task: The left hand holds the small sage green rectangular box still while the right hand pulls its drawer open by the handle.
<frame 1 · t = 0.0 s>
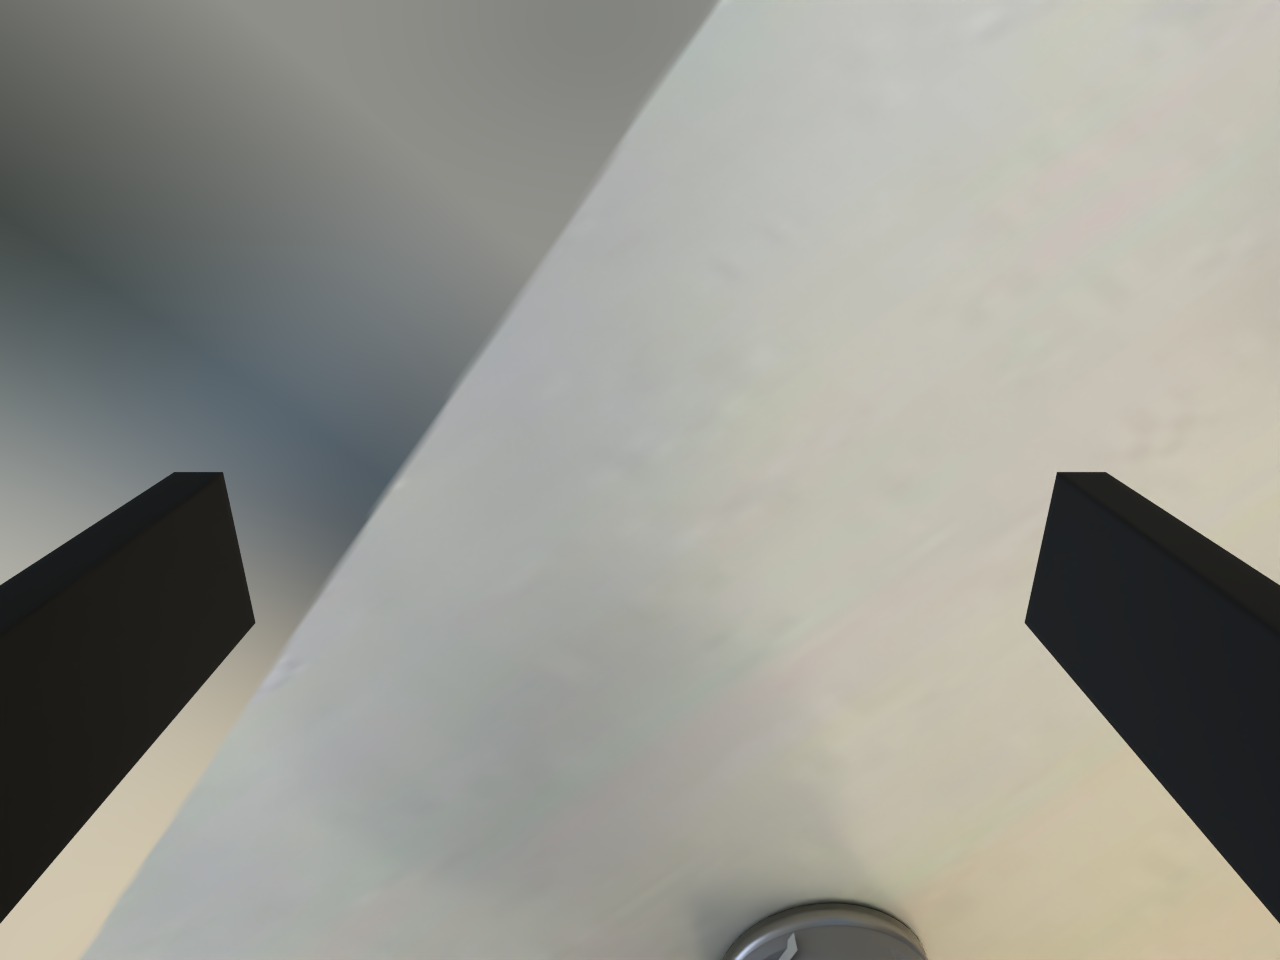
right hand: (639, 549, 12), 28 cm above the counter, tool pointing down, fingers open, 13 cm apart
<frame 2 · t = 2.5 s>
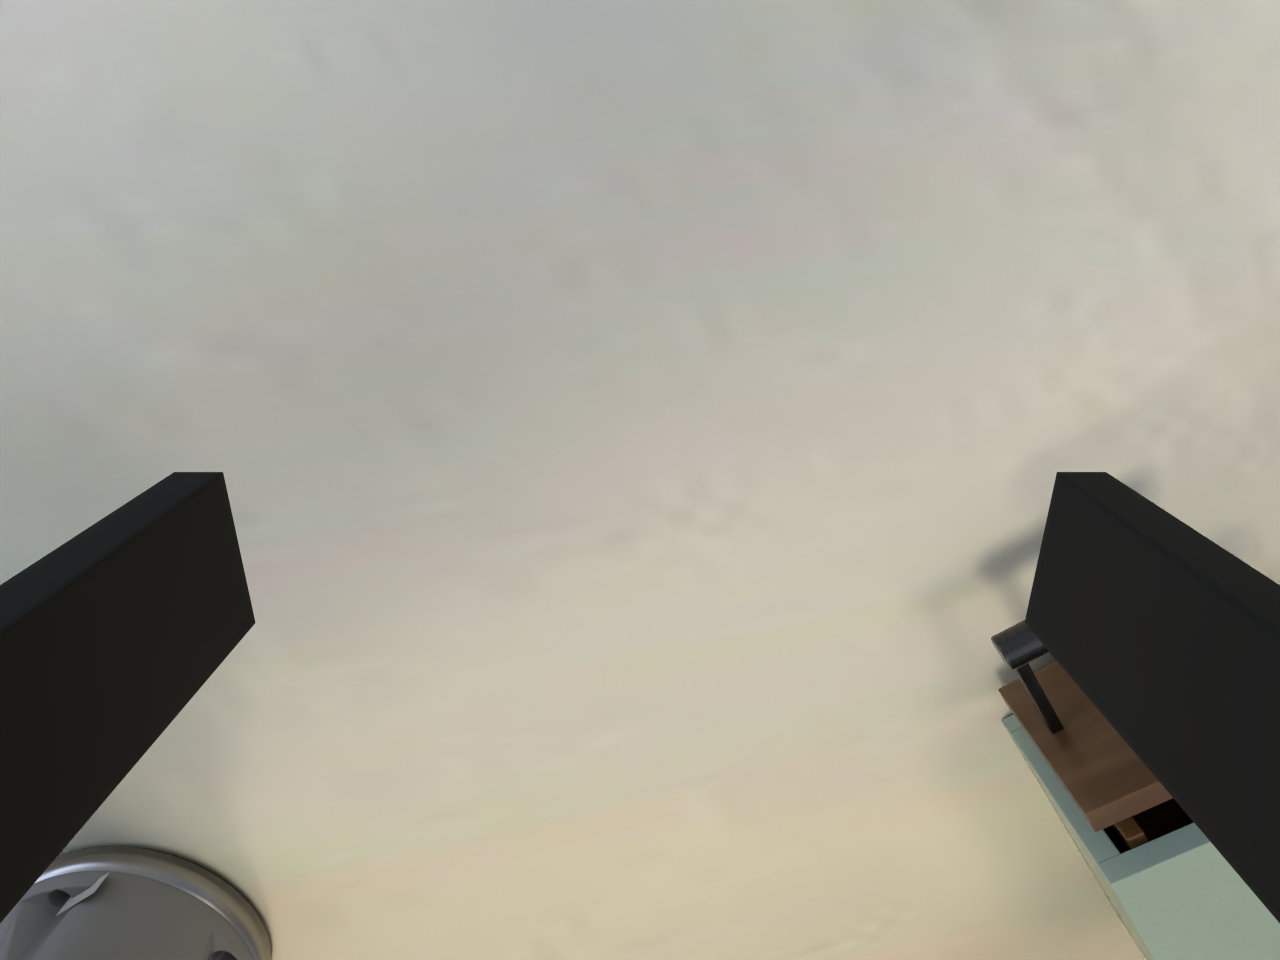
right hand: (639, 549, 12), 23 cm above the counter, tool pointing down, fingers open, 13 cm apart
drawer: (1169, 775, 37), point 5 cm above the counter, slide at 1.7 cm
sage green rectangular box: (1150, 784, 43), on the counter
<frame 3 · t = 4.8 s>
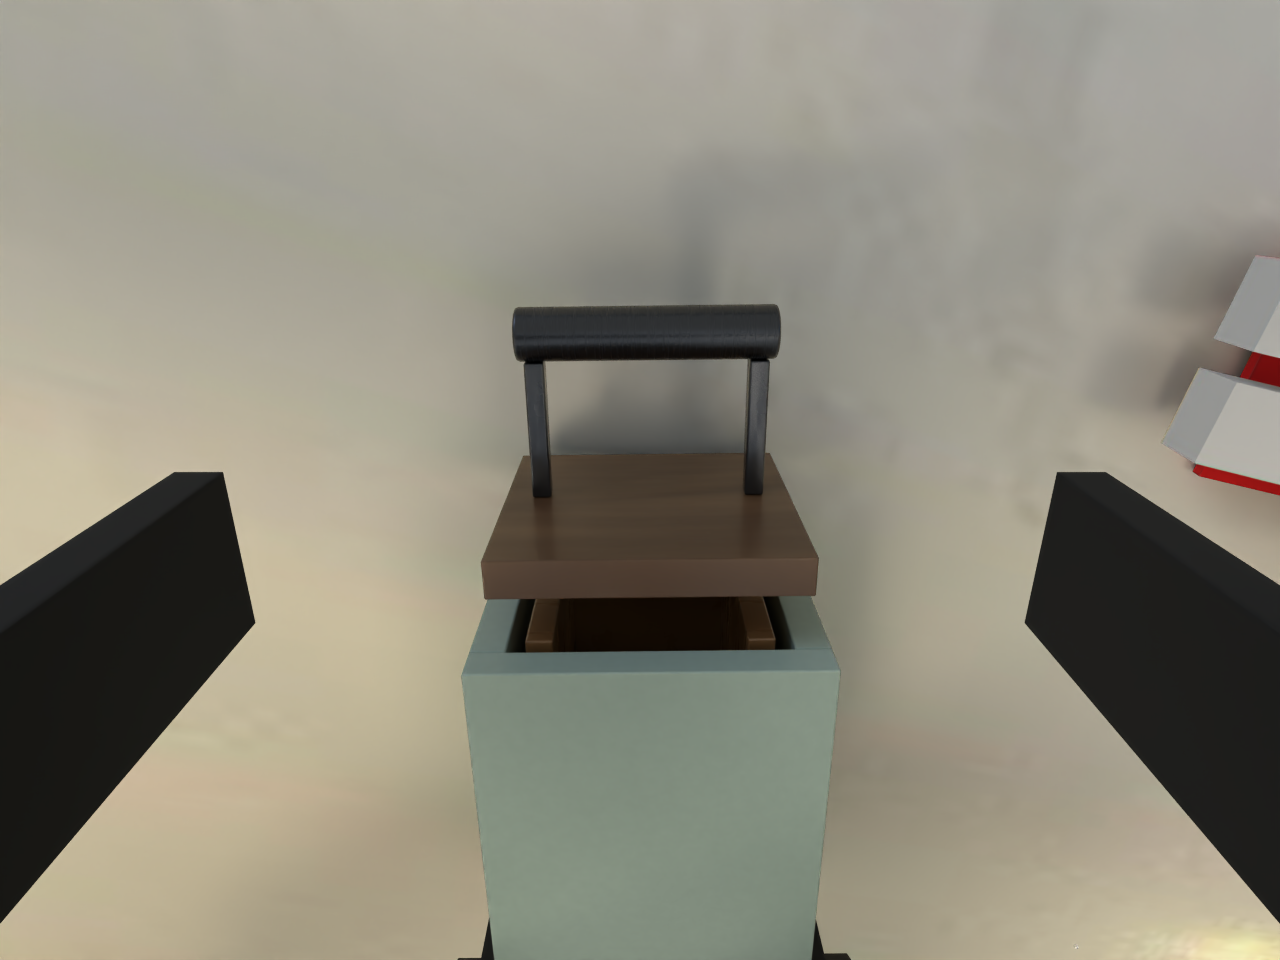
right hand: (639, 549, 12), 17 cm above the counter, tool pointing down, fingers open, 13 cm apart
drawer: (648, 635, 27), point 5 cm above the counter, slide at 1.7 cm
sage green rectangular box: (648, 697, 34), on the counter, touching left hand
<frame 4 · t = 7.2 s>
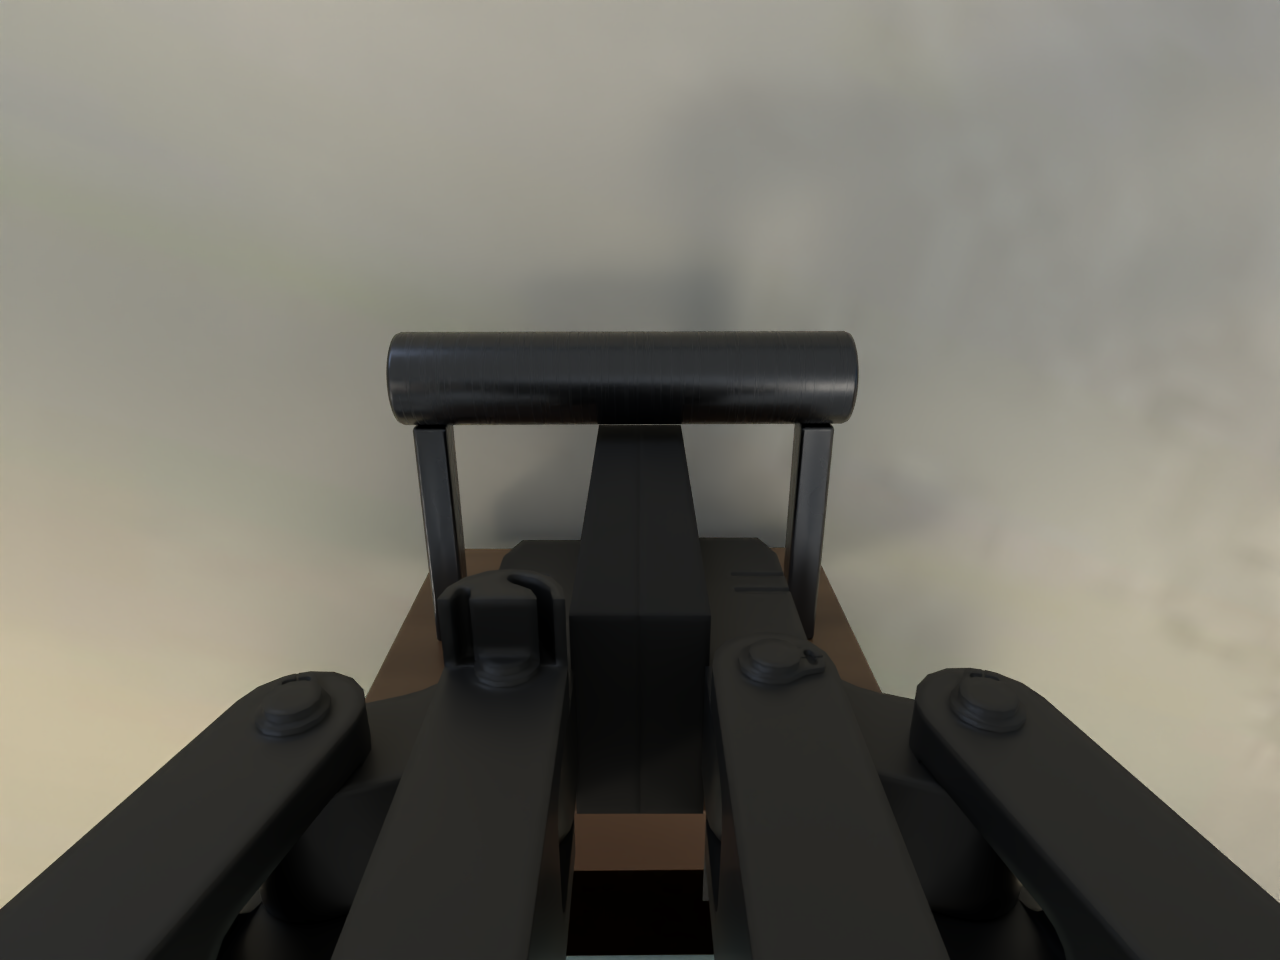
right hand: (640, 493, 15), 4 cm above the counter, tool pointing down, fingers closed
drawer: (627, 843, 17), point 5 cm above the counter, slide at 1.8 cm
sage green rectangular box: (629, 869, 24), on the counter, touching left hand
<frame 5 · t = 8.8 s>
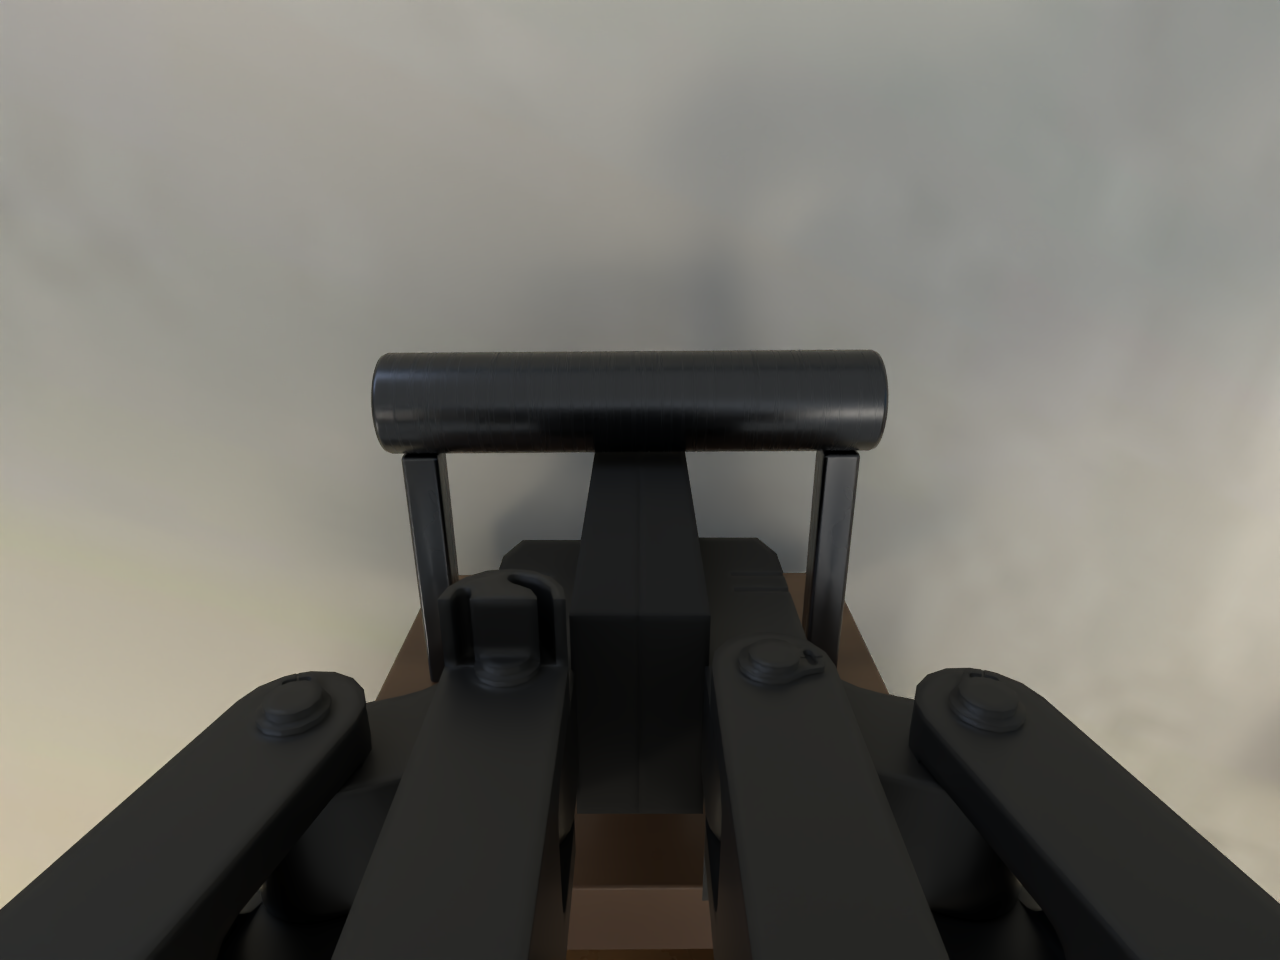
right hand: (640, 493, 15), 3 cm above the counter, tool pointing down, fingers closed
drawer: (635, 892, 16), point 5 cm above the counter, slide at 10.2 cm, touching right hand
when the left hand's fingers open (5 cm above the counter, at t = 10.9 s): sage green rectangular box stays where it is, on the counter.
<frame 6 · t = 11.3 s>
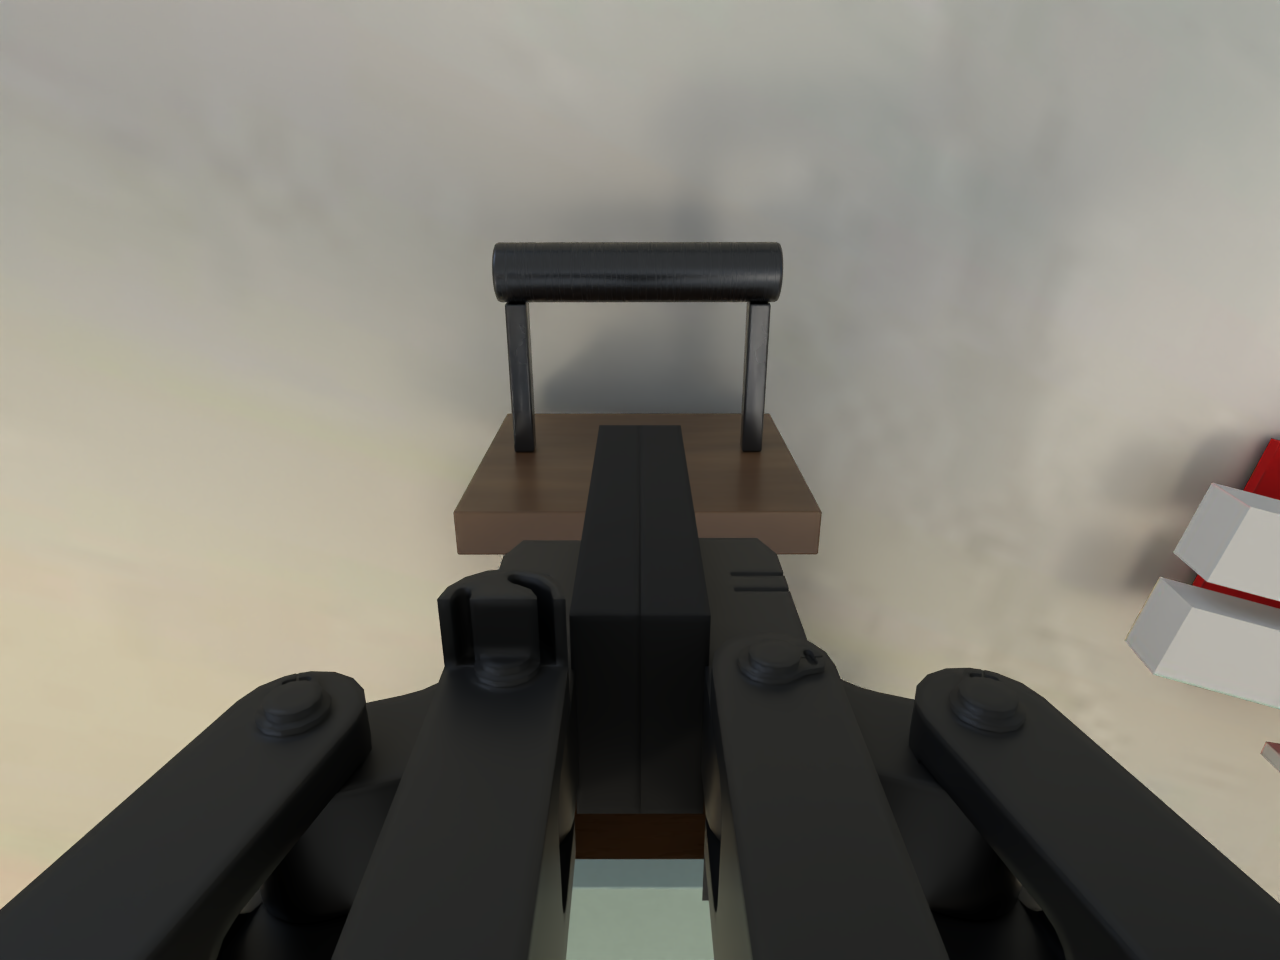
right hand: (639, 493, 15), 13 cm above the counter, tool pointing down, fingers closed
drawer: (638, 604, 25), point 5 cm above the counter, slide at 10.3 cm
sage green rectangular box: (639, 833, 35), on the counter
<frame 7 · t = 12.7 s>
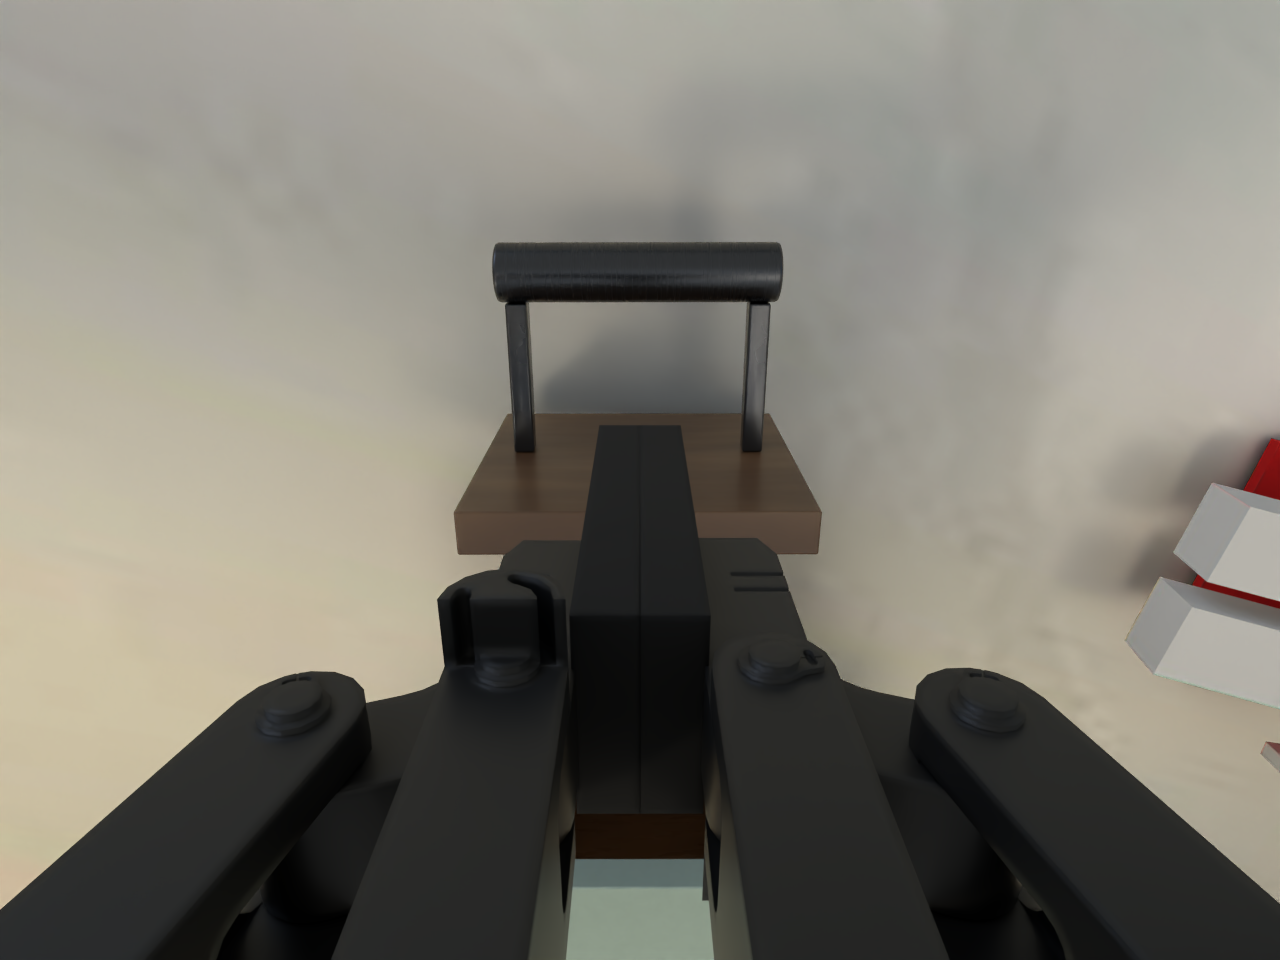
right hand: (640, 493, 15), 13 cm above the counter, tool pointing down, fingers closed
drawer: (638, 604, 25), point 5 cm above the counter, slide at 10.3 cm
sage green rectangular box: (639, 833, 35), on the counter
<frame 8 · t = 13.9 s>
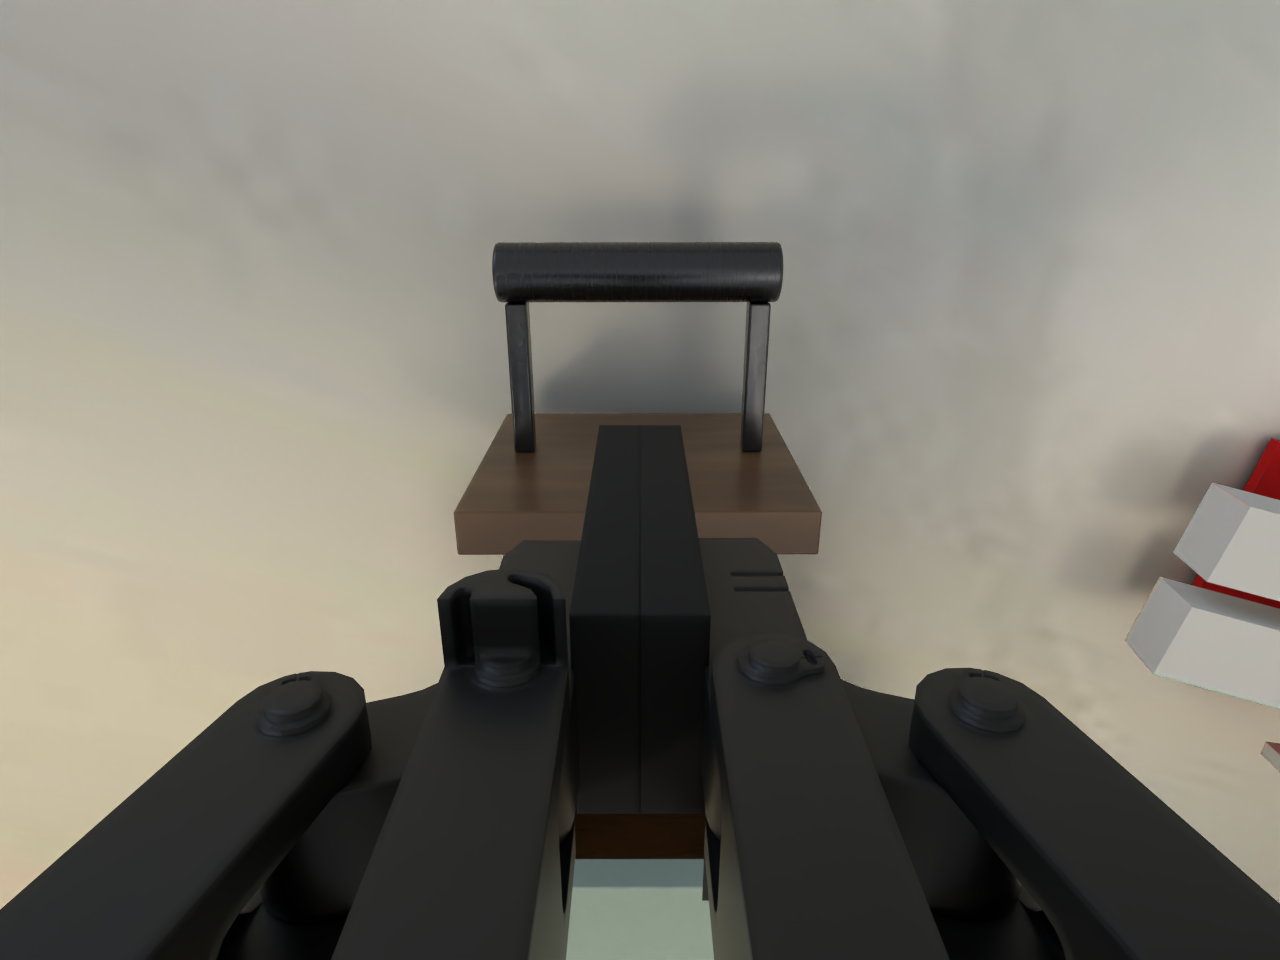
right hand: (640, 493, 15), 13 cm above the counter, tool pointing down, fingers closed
drawer: (638, 604, 25), point 5 cm above the counter, slide at 10.3 cm
sage green rectangular box: (639, 833, 35), on the counter
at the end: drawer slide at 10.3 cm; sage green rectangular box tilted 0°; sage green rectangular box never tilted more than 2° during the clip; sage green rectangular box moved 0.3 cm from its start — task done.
